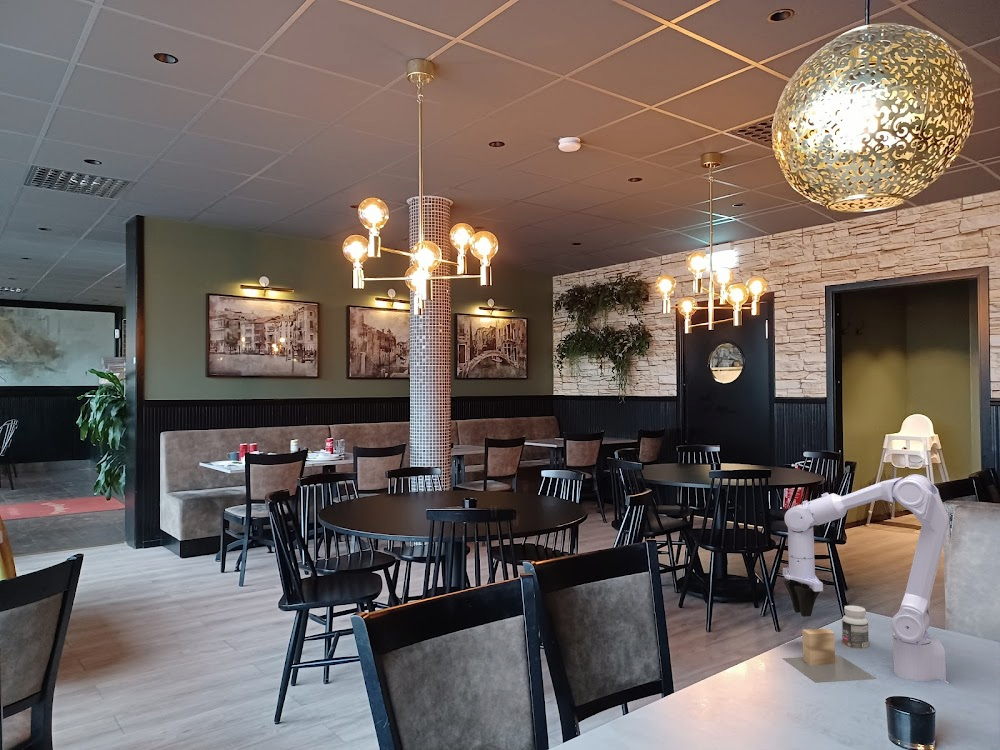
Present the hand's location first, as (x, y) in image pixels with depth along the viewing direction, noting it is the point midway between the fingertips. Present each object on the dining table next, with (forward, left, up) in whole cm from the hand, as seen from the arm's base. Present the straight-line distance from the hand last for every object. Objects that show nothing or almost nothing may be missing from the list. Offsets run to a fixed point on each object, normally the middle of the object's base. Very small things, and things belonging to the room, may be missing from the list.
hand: (802, 614), depth 169 cm
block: (0, +7, -9) cm, 11 cm away
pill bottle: (-15, -3, -10) cm, 18 cm away
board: (0, +10, -10) cm, 14 cm away
